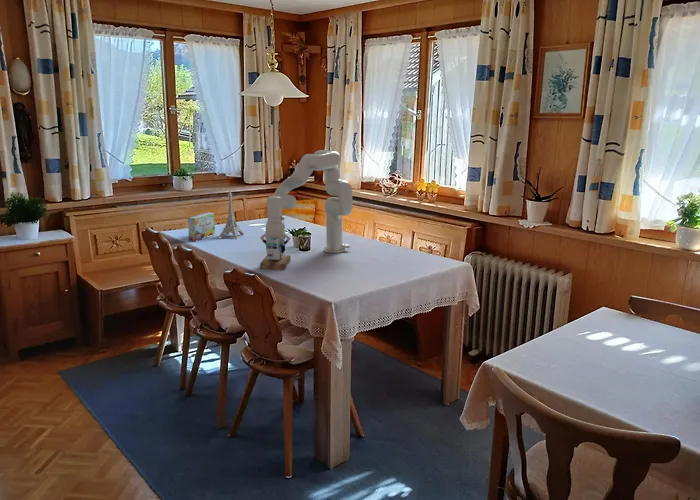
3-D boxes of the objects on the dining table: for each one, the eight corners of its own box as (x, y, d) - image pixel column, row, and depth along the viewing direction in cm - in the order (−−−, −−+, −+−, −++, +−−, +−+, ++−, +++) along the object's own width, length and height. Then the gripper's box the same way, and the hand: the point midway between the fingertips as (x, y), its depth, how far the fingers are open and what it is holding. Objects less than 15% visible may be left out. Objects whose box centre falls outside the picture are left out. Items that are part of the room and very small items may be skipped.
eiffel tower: (245, 235, 367) (243, 189, 360) (237, 239, 355) (235, 192, 347) (226, 233, 370) (224, 189, 363) (217, 238, 358) (215, 191, 350)
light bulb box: (278, 260, 292) (278, 240, 289) (266, 259, 293) (265, 239, 291) (284, 254, 302) (284, 235, 299) (273, 254, 303) (272, 234, 301)
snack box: (196, 241, 348) (194, 218, 344) (188, 241, 350) (187, 217, 346) (215, 234, 367) (214, 212, 363) (208, 234, 369) (207, 211, 365)
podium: (290, 260, 306) (290, 255, 306) (285, 269, 290) (284, 264, 289) (267, 260, 307) (267, 254, 307) (260, 268, 291) (260, 263, 290)
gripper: (292, 218, 296) (293, 250, 300) (260, 217, 297) (261, 250, 301) (289, 221, 288) (290, 254, 293) (256, 220, 289) (258, 253, 294)
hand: (275, 251), depth 297 cm, fingers open, 7 cm apart
